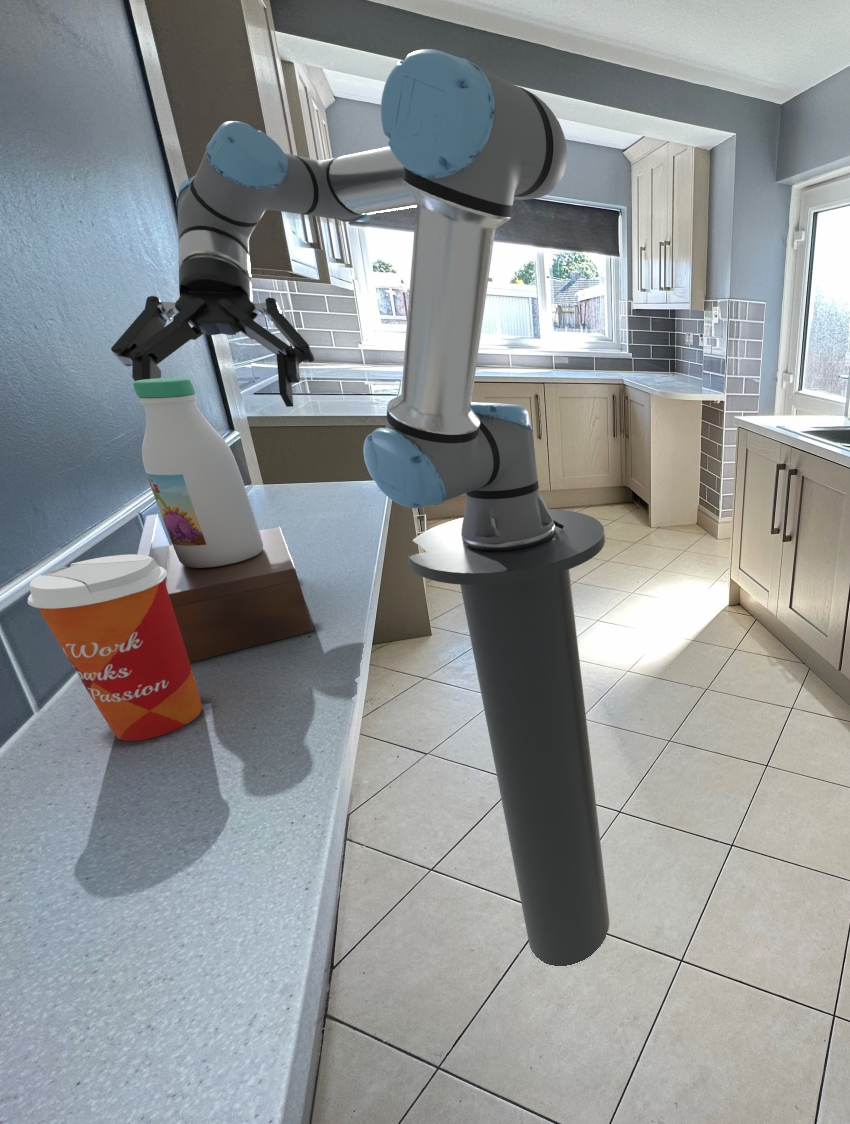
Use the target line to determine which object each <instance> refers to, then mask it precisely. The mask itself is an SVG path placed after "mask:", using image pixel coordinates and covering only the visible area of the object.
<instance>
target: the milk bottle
mask: <svg viewBox="0 0 850 1124" xmlns="http://www.w3.org/2000/svg"><path fill="white" fill-rule="evenodd" d="M132 386H133V390H134V391H135V394H136V396H137V397H138V400H139V401H138V402H139V403H140V404H142V405H143V408H144V410H145V431H144V436H143V439H142V445H141V458H142V462H143V468H144V470H145V474H146V477H147V480H148V483H149V486H150V490H151V491H152V494H153V498H154V500H155V502H156V506H157V508H158V510H159V513H160V515H161V518H162V521H163V523H164V526H165V528H166V531H167V535H168V537H169V540H170V541H171V545H173V547H174V550H175V552H176V554H177V557H178V559H179V561H180V562H181V563H182V564H183V565H184V566H186V567H191V568H206V567H216V566H222V565H228V564H232V563H236V562H240V561H243V560H246V559H249V558H251V557H254V556H256V555H257V554H259V553H260V552H261V551H262V550H263V542H262V538H261V535H260V532H259V530H260V528H259V526H258V523H257V520H256V516H255V514H254V511H253V507H252V504H251V501H250V498H249V495H248V492H247V489H246V486H245V483H244V480H243V477H242V474H241V471H240V468H239V466H238V463H237V460H236V458H235V455H234V453H233V451H232V449H231V447H230V446H229V444H228V442H227V441H226V440H225V439H224V438H223V436H222V435H221V434H220V433H219V432H218V431H217V430H216V429H215V428H214V427H213V426H212V425H211V423H209V421H208V420H207V419H206V417H205V416H204V415H203V413H202V412H201V410H200V408H199V407H198V404H197V399H198V397H197V396H196V389H195V386H194V383H193V381H192V380H191V379H190V378H185V377H161V378H157V379H145V380H138V381H133V383H132Z"/></svg>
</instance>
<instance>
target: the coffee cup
mask: <svg viewBox="0 0 850 1124" xmlns="http://www.w3.org/2000/svg"><path fill="white" fill-rule="evenodd" d="M46 574H47V575H45V574H38V575H37V576H35V577H34V578H32V580H31V581H30V582H29V591H30V594H29V595H28V596H27V597H28V598H27V604H28V605H29V606H30V607H33V608H37V609H38V611H39V612H40V614H41V615H42V618H43V619H44V621H45V622H46V624H47V626H48V628H49V629H50V631H51V632H52V634H53V636H54V638H55V639H56V641H57V642H58V644H59V646H60V648H61V649H62V651H63V652H64V654H65V656H66V658H67V659H68V661H69V662H70V665H71V666H72V668H73V669H74V671H75V673H76V674H77V676H78V677H79V679H80V681H81V683H82V685H83V686H84V687H85V689H86V691H87V693H88V694H89V696H90V697H91V700H92V701H93V703H94V704H95V706H96V707H97V709H98V711H99V712H100V714H101V715H102V717H103V719H104V720H105V722H106V723H107V725H108V727H109V729H110V730H111V731H112V733H113V734H114V735H115V736H116V737H117V739H118V740H122V741H126V742H136V741H137V742H138V741H145V740H149V739H155V738H158V737H160V736H165V735H166V734H169V733H172V732H174V731H176V730H178V729H180V728H183V727H185V726H186V725H188V724H189V723H190V722H191V723H192V722H193V720H195V719H196V718H197V717H198V716H199V715H200V714H201V712H202V710H203V703H202V700H201V696H200V693H199V689H198V685H197V682H196V678H195V675H194V672H193V668H192V665H191V663H190V662H189V658H188V655H187V652H186V649H185V645H184V642H183V639H182V636H181V632H180V629H179V626H178V623H177V620H176V616H175V613H174V610H173V607H172V603H171V600H170V597H169V594H168V591H167V587H166V584H165V581H164V578H165V577H166V576H167V571H166V570H165V569H164V568H162V567H160V566H158V564H157V563H156V561H155V560H154V559H153V558H151V557H150V556H147V555H138V554H116V555H109V556H101V557H96V558H95V557H94V558H91V559H85V560H81V561H77V562H72V563H70V566H69V567H68V566H67V565H65V566H62V567H59V568H56V569H54V570H51V571H48V572H46Z"/></svg>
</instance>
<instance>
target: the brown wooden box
mask: <svg viewBox="0 0 850 1124" xmlns="http://www.w3.org/2000/svg"><path fill="white" fill-rule="evenodd" d="M259 532H260V535H261V538H262V542H263V550H262V551H261V552H260V553H259V554H257V555H256V556H254V557H251V558H249V559H246V560H243V561H240V562H236V563H232V564H228V565H222V566H216V567H206V568H191V567H186V566H184V565H183V564H182V563H181V562H180V561H179V559H178V557H177V554H176V552H175V550H174V547H173V544H170V543H169V540H168V537H167V535H166V533H165V530H164V527H163V524H162V522H161V518H160V517H159V514H157V513H156V514H155V513H154V514H149V515H146V517H145V521H144V525H143V529H142V533H141V536H140V542H139V544H138V549H137V554H138V555H147V556H150V557H151V558H153V559H154V560H155V561H156V563H157V564H158V566H160V567H162V568H164V569H165V570H166V571H167V576H166V577H165V578H164V581H165V584H166V587H167V591H168V594H169V597H170V600H171V603H172V607H173V610H174V613H175V616H176V620H177V623H178V626H179V629H180V632H181V636H182V639H183V642H184V645H185V649H186V652H187V655H188V658H189V662H190V664H191V663H194V662H198V661H202V660H206V659H210V658H213V657H217V656H221V655H226V654H229V653H233V652H237V651H241V650H245V649H248V648H253V647H256V646H261V645H264V644H268V643H272V642H275V641H276V642H277V641H280V640H283V639H287V638H292V637H295V636H299V635H304V634H307V633H311V632H314V630H315V629H314V626H313V623H312V620H311V616H310V613H309V609H308V607H307V603H306V600H305V597H304V593H303V590H302V586H301V584H300V580H299V576H298V572H297V570H296V567H295V564H294V561H293V559H292V556H291V553H290V550H289V548H288V545H287V542H286V540H285V537H284V534H283V532H282V529H281V526H276V527H270V528H265V529H259Z"/></svg>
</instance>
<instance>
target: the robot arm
mask: <svg viewBox="0 0 850 1124" xmlns="http://www.w3.org/2000/svg"><path fill="white" fill-rule="evenodd" d="M384 83H385V84H384V87H383V90H382V95H381V102H380V120H381V126H382V131H383V135H385V136H386V137H387V138H388V139H389V140H388V143H387V146H384V147H380V148H375V149H370V150H365V151H361V152H355V153H351V154H346V155H341V156H338V157H332V158H328V159H327V158H326V159H312V158H309V157H304V156H300V155H295V154H290V153H286V152H284V150H283V149H282V147H280V145H279V144H278V143H277V142H276V141H275V140H274V139H273V138H272V137H270V136H269V135H268V134H266V133H265V132H263V131H262V130H257V129H255V128H254V127H253V126H251V124H248V123H246V122H242V121H238V120H228V121H225V122H223V123H221V125H219V126H218V128H217V130H216V131H215V132H214V134H213V135H212V137H211V139H210V140H208V142H207V144H206V146H205V151H204V154H203V157H202V159H201V162H200V164H199V166H198V169H197V171H196V173H195V175H194V176H192V177H189V178H187V179H184V180H183V181H182V182H181V183H180V184H179V186H178V192H177V197H176V199H175V207H176V213H177V235H178V258H177V259H178V261H177V263H178V293H179V297H178V299H177V300H176V301H175V302H172V301H171V302H170V301H161V300H160V298H159V297H158V296H156V295H149V296H147V298H146V301H145V305H144V309H143V310H142V311H141V312H140V314H139V315H138V316H137V317H136V318H135V319H134V321H133V322H132V323H131V324H130V325H129V327H128V328H127V329H126V330H125V331H124V332H123V334H122V335H121V336H120V337H119V338H118V339H117V340H116V341H115V343H114V344H113V345H112V346H111V348H110V350H111V352H112V353H113V354H114V356H116V358H117V359H118V361H120V363H121V364H122V365H124V366H125V367H131V368H132V372H131V373H132V374H131V377H132V379H133V382H135V381H138V380H145V379H157V378H162V370H161V369H160V367H159V366H158V365H159V364H160V363H162V362H163V361H164V360H165V359H167V358H168V357H170V356H171V355H172V354H173V353H174V352H176V351H177V350H178V349H180V348H181V347H183V346H184V345H185V344H186V343H188V342H189V341H190V340H192V341H196V340H198V339H199V338H200V337H202V336H203V335H204V334H206V336H216V335H227V336H236V335H237V334H238V333H242V334H243V335H245V336H246V337H248V339H250V340H254V341H256V342H257V343H258V344H259V345H261V346H263V348H265V349H267V350H268V351H270V352H271V353H272V354H274V355H275V356H276V365H277V366H276V367H277V378H278V391H279V395H280V398H281V399H282V401H283V403H284V405H285V407H287V408H289V407H294V398H293V397H294V396H293V386H292V385H293V384H298V383H300V381H301V375H300V374H301V373H300V364H301V363H302V362H307V363H313V362H314V361H315V359H316V358H315V356H314V354H313V351H312V349H311V347H310V345H309V343H308V342H307V341H306V340H305V339H304V337H303V336H302V335H301V334H300V333H299V332H298V330H297V329H296V328H295V327H294V326H293V325H292V324H291V323H290V322H289V320H288V319H287V318H286V317H285V316H284V314H283V313H282V311H281V309H280V306H279V304H278V302H277V300H276V298H274V297H267V298H266V299H265V300H264V301H265V302H261V303H260V302H259V303H254V299H253V287H252V274H251V260H250V258H251V257H250V238H251V235H252V234H253V232H254V230H255V229H256V226H257V225H258V224H259V222H260V221H261V219H262V217H263V215H264V214H265V212H266V211H268V210H269V211H274V212H275V211H276V212H283V213H289V214H296V215H303V216H305V215H306V216H312V217H317V218H319V217H320V218H325V219H331V220H338V221H340V222H344V223H345V222H346V223H350V222H351V223H354V222H357V223H363V222H364V223H365V222H368V221H369V220H371V218H372V216H373V215H375V214H376V213H384V212H391V211H396V210H397V211H398V210H405V209H409V208H410V209H411V208H415V215H414V216H415V219H414V230H413V242H412V243H413V244H412V255H411V266H410V280H409V292H408V304H407V315H406V317H407V318H406V329H405V342H404V353H403V357H404V358H403V366H402V367H403V368H402V379H401V393H400V394H398V396H395V397H393V398H392V399H390V400H389V401H388V403H387V405H386V416H385V426H384V427H378V428H376V429H374V430H373V431H372V432H371V433H369V434H367V436H366V437H365V439H364V441H363V447H362V449H363V451H362V452H363V453H362V454H363V459H364V464H365V466H366V469H367V471H368V473H369V476H370V478H371V479H372V480H373V481H374V482H375V484H376V486H377V487H378V489H379V490H380V491H381V492H382V493H383V494H384V495H385V496H386V497H388V499H390V500H391V501H393V502H394V503H396V504H398V505H400V506H402V507H405V508H409V509H415V510H416V509H423V508H427V507H430V506H438V505H440V504H442V503H444V502H445V501H449V500H451V499H454V498H456V497H459V496H462V495H465V496H466V502H465V507H464V513H463V517H462V518H463V523H462V529H461V536H462V541H463V544H464V546H466V547H467V548H469V549H472V550H476V551H482V552H508V551H516V550H522V549H527V548H531V547H534V546H537V545H540V544H543V543H545V542H547V541H548V540H550V539H551V538H552V537H553V536H554V535H555V526H557V527H559V528H561V529H563V527H564V525H562V524H560V523H558V522H556V521H555V520H553V519H552V516H551V514H550V512H549V510H548V509H549V508H548V506H547V504H546V502H545V500H544V498H543V496H542V494H541V492H540V486H539V477H538V469H537V461H536V452H535V451H536V450H535V443H534V435H533V432H534V430H533V426H532V424H531V417H530V414H529V411H528V410H527V408H526V407H524V406H523V405H520V404H511V403H497V402H477V401H476V402H473V395H474V394H473V393H474V385H475V378H476V371H477V364H478V357H479V350H480V342H481V335H482V327H483V320H484V313H485V306H486V299H487V293H488V292H487V291H488V285H489V278H490V270H491V264H492V257H493V249H494V241H495V233H496V230H497V229H498V228H499V227H500V226H502V225H504V224H505V223H507V222H508V221H510V220H511V217H512V211H513V205H514V202H515V201H524V200H535V199H536V200H537V199H540V198H542V197H546V196H547V195H549V194H550V193H551V192H553V191H554V190H555V189H556V188H557V187H558V185H559V184H560V183H561V181H562V179H563V176H564V175H565V171H566V168H567V163H568V162H567V161H568V148H567V141H566V137H565V134H564V131H563V128H562V125H561V124H560V121H559V120H558V118H557V116H556V115H555V113H554V111H552V109H551V108H550V106H549V105H547V103H546V102H545V101H543V99H541V98H540V97H539V96H537V95H536V94H535V93H533V92H531V91H530V90H528V89H525V88H523V87H521V86H518V85H516V84H514V83H512V82H510V81H508V80H506V79H504V78H502V77H500V76H498V75H496V74H494V73H492V72H490V71H489V70H486V69H484V68H483V67H482V66H479V65H477V64H475V63H474V62H472V61H469V60H468V59H467V58H462V57H458V56H456V55H454V54H453V55H452V54H451V53H447V52H445V51H441V50H437V49H433V48H424V49H418V50H415V51H412V52H410V53H408V54H407V55H406V57H405V58H404V59H402V60H399V61H397V63H395V65H394V67H392V69H391V71H390V72H389V75H388V76H387V78H386V81H385V82H384ZM258 315H261V316H263V317H264V319H266V320H268V321H269V322H273V324H274V326H275V328H276V329H277V330H278V331H279V332H280V333H281V335H282V336H283V337H284V338H285V339H286V340H287V342H288V343H289V344H287V343H286V342H285V341H283V340H282V339H280V338H279V337H277V336H276V335H275V334H273V333H272V332H271V331H269V330H268V329H266V328H265V327H264V326H262V325H260V324H259V323H257V322H256V321H255V319H257V317H258ZM167 322H169V323H168V324H167Z"/></svg>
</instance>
